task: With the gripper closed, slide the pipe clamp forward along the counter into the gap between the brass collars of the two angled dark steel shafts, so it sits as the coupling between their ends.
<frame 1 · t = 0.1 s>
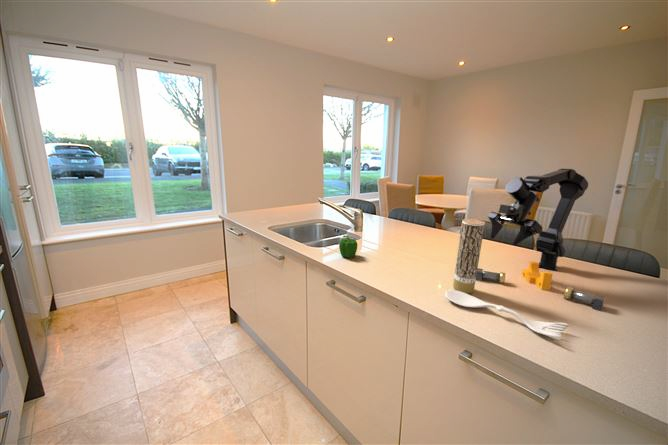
hand: (502, 241, 111), 15 cm above the worktop, tool tilted 35°, fingers open, 9 cm apart
bell pepper: (348, 256, 137), on the worktop
paper tube: (463, 290, 104), on the worktop
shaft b: (503, 283, 110), on the worktop
white plastic spork: (497, 317, 87), on the worktop
pipe clamp: (534, 283, 110), on the worktop
shaft a: (564, 297, 99), on the worktop
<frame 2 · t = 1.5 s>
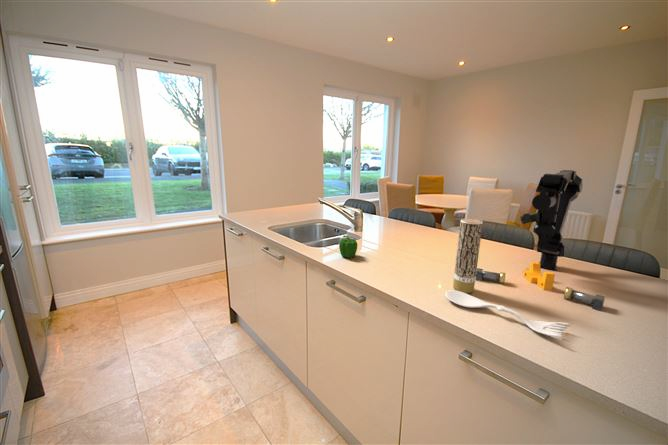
hand: (541, 246, 115), 12 cm above the worktop, tool pointing down, fingers open, 6 cm apart
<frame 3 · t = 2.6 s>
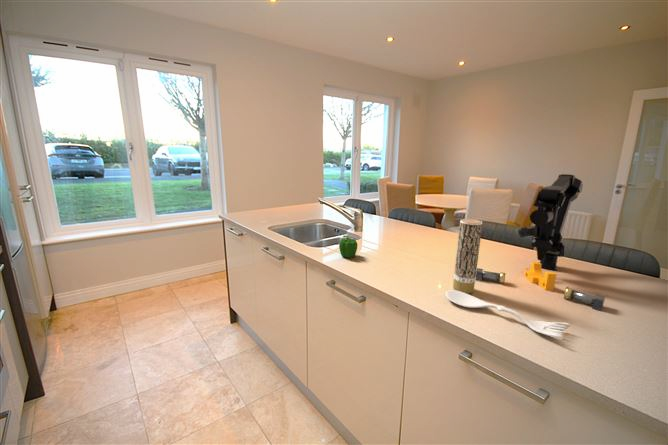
hand: (539, 259, 116), 7 cm above the worktop, tool pointing down, fingers closed
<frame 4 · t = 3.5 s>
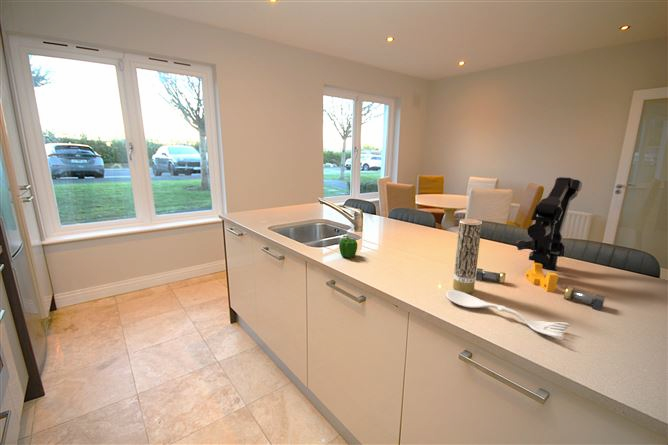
hand: (536, 272, 117), 1 cm above the worktop, tool pointing down, fingers closed
pipe clamp: (539, 285, 109), on the worktop
everything else where it was.
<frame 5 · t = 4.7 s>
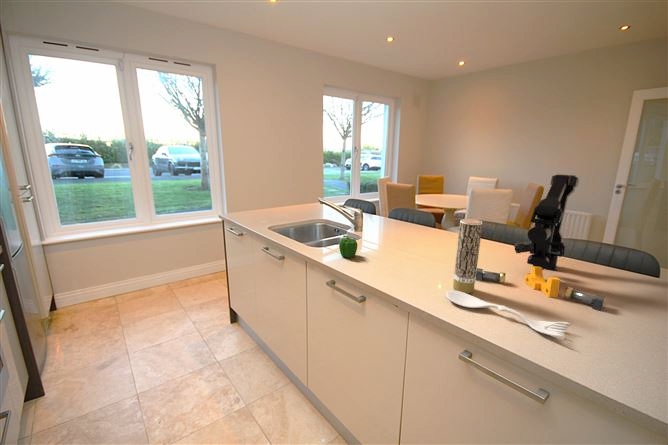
hand: (535, 276, 113), 1 cm above the worktop, tool pointing down, fingers closed
pipe clamp: (539, 289, 105), on the worktop, touching gripper
everything else where it was.
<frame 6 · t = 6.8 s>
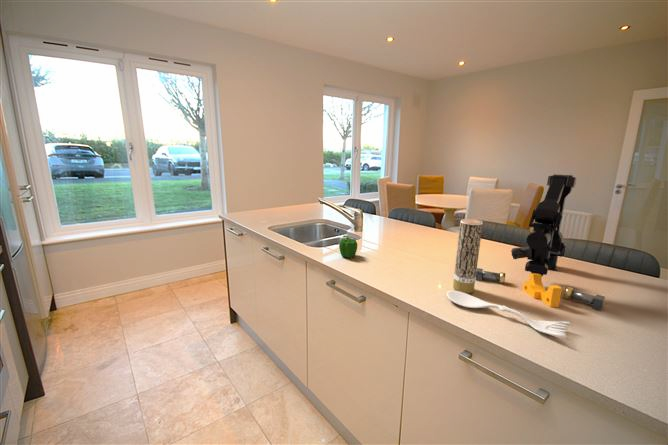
hand: (534, 283, 107), 1 cm above the worktop, tool pointing down, fingers closed
pipe clamp: (539, 298, 99), on the worktop, touching gripper
everything else where it was.
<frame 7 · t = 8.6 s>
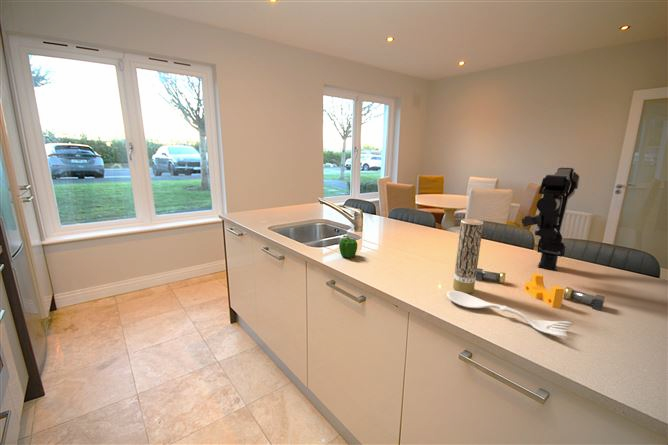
hand: (543, 250, 111), 12 cm above the worktop, tool pointing down, fingers closed
pipe clamp: (541, 299, 98), on the worktop
everything else where it was.
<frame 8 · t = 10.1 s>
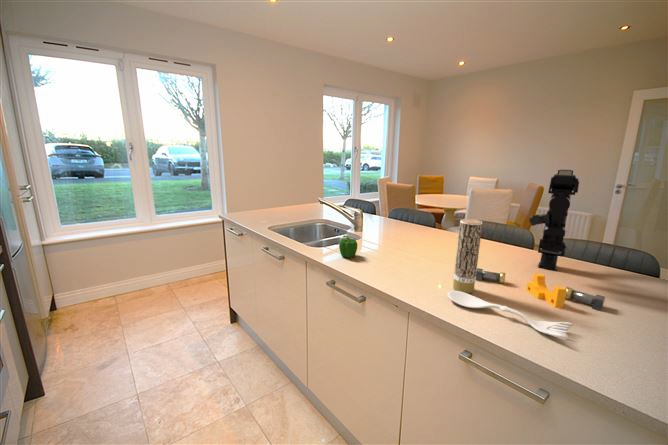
hand: (550, 248, 112), 12 cm above the worktop, tool pointing down, fingers closed
at the end: pipe clamp inside the target area (5.3 cm from its centre), on the worktop; pipe clamp tilted 0°; the gripper is holding nothing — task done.
